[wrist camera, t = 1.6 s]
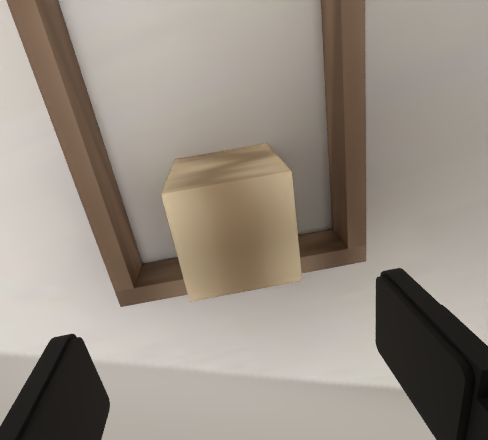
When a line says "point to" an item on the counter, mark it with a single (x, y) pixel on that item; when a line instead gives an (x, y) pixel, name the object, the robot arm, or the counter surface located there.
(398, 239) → the counter surface
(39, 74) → the bay
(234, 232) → the light wooden block
